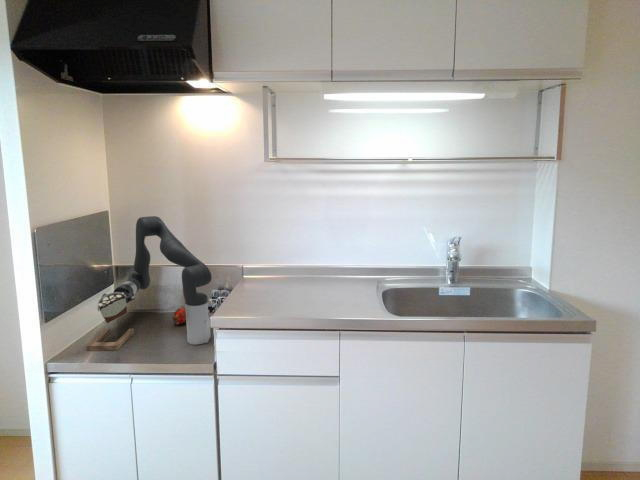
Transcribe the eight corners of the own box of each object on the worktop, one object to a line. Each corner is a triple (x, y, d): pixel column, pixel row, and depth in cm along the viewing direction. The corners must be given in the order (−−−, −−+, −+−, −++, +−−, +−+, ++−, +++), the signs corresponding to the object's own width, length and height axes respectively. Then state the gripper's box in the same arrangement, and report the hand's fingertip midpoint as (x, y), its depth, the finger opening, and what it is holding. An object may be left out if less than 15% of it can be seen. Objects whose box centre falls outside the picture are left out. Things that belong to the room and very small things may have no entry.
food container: (124, 304, 197) (119, 287, 192) (131, 311, 194) (126, 294, 188) (97, 318, 190) (90, 301, 184) (103, 325, 186) (97, 308, 181)
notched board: (134, 332, 198) (134, 328, 198) (117, 350, 181) (117, 345, 180) (106, 333, 198) (105, 328, 198) (86, 350, 180) (86, 346, 180)
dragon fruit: (193, 321, 216) (177, 333, 206) (180, 310, 217) (164, 322, 207) (200, 310, 212) (183, 322, 202) (187, 299, 213) (170, 310, 203)
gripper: (109, 283, 203) (91, 295, 187) (140, 283, 204) (126, 295, 187) (110, 299, 205) (93, 312, 188) (141, 299, 205) (127, 312, 189)
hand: (109, 304), depth 188 cm, fingers closed on food container, 5 cm apart
